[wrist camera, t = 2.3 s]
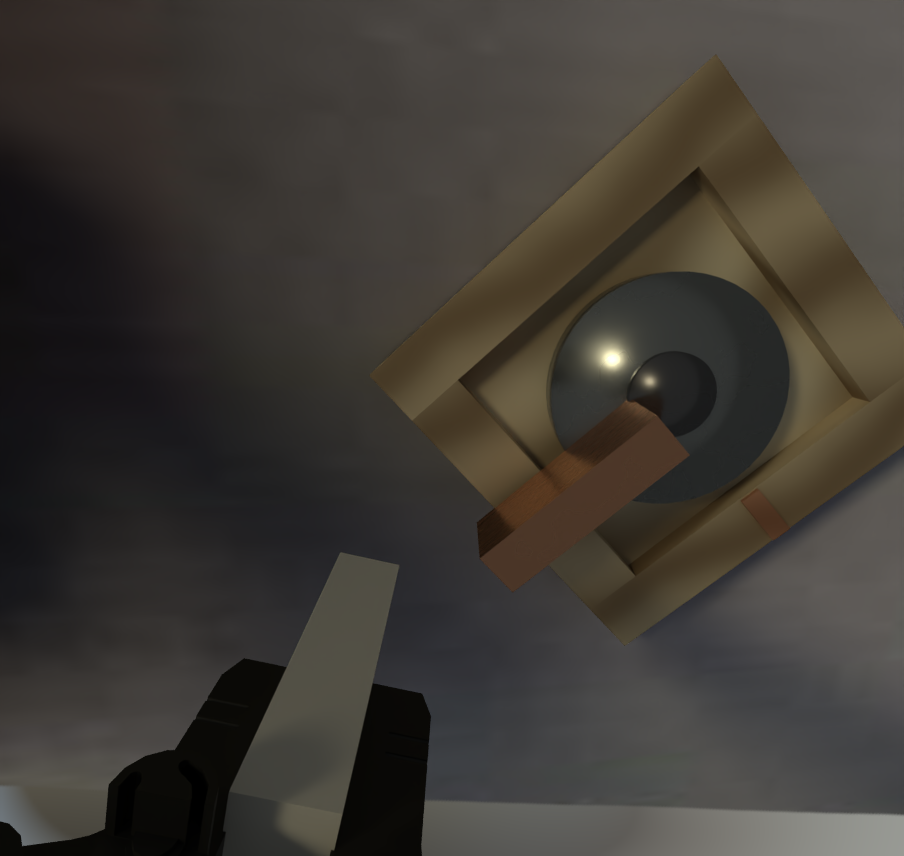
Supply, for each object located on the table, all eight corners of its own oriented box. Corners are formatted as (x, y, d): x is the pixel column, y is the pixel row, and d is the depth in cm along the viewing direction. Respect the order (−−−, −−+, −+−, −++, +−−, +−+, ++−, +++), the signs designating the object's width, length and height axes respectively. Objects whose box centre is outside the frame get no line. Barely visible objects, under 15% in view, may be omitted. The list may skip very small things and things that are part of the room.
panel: (377, 366, 29) (368, 376, 26) (688, 79, 25) (718, 51, 22) (610, 615, 32) (625, 648, 29) (910, 395, 29) (961, 407, 26)
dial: (682, 220, 25) (741, 203, 20) (814, 396, 27) (898, 422, 22) (419, 450, 28) (410, 487, 23) (555, 592, 30) (575, 656, 25)
